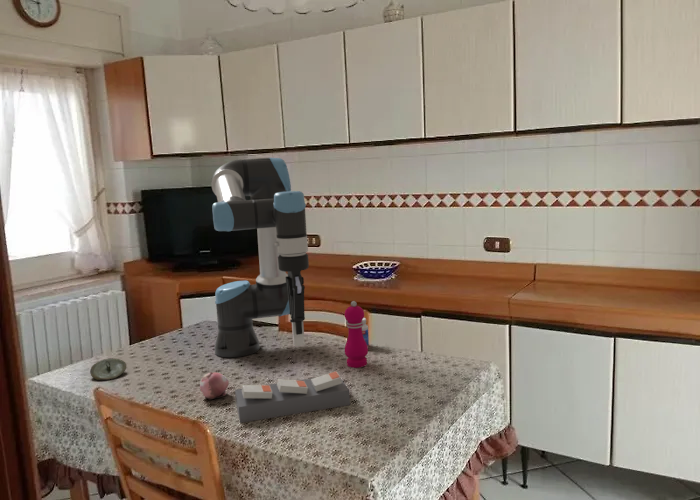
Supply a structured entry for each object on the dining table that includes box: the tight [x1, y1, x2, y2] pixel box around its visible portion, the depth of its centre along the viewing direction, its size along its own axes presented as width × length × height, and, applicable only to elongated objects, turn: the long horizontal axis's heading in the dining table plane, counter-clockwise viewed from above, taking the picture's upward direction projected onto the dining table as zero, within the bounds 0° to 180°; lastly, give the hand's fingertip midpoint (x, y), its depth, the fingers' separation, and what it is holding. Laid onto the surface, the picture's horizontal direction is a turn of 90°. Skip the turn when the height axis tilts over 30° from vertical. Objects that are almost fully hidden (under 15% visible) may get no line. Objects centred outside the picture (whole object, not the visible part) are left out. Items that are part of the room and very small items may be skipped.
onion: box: [199, 371, 230, 401], centre depth 160 cm, size 8×8×7 cm
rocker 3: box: [310, 370, 343, 392], centre depth 152 cm, size 5×7×2 cm
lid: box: [89, 357, 127, 381], centre depth 182 cm, size 11×10×5 cm
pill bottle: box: [362, 317, 370, 348], centre depth 196 cm, size 6×5×10 cm
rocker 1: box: [241, 384, 272, 399], centre depth 147 cm, size 5×7×2 cm
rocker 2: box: [276, 378, 308, 394], centre depth 150 cm, size 5×7×2 cm
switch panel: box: [234, 377, 351, 424], centre depth 152 cm, size 12×28×4 cm, turn 105°
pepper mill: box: [344, 300, 369, 369], centre depth 179 cm, size 7×7×20 cm
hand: (299, 345), depth 149 cm, fingers closed
